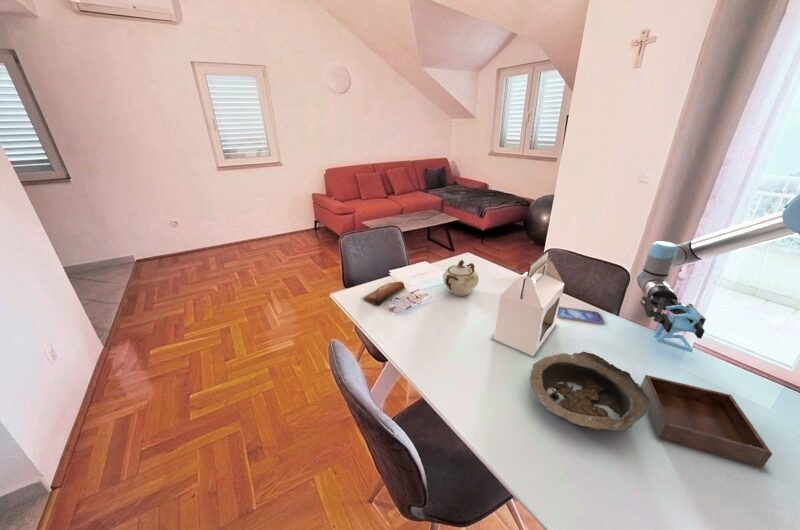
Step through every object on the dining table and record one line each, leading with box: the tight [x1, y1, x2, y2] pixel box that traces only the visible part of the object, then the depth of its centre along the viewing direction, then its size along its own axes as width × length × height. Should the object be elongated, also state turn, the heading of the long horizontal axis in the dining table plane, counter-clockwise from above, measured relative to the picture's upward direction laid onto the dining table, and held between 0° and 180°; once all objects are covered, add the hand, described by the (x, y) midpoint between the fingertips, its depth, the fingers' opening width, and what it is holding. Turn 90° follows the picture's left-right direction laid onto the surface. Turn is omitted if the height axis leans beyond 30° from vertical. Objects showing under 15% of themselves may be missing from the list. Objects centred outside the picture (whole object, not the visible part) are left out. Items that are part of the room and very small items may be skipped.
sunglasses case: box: [363, 281, 405, 306], centre depth 133 cm, size 18×7×7 cm
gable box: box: [493, 251, 565, 357], centre depth 103 cm, size 22×13×28 cm, turn 139°
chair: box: [652, 305, 700, 353], centre depth 93 cm, size 8×8×12 cm
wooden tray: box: [639, 374, 773, 469], centre depth 74 cm, size 18×17×5 cm
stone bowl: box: [529, 351, 650, 432], centre depth 78 cm, size 25×25×9 cm
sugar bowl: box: [442, 259, 480, 297], centre depth 133 cm, size 20×15×15 cm
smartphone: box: [557, 306, 604, 324], centre depth 118 cm, size 7×1×15 cm
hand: (685, 331), depth 89 cm, fingers closed on chair, 6 cm apart
